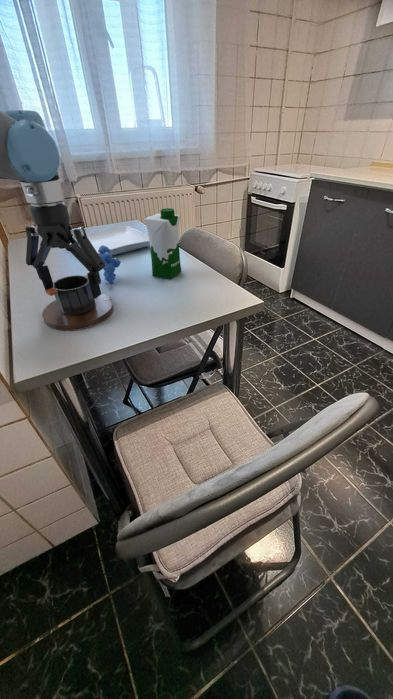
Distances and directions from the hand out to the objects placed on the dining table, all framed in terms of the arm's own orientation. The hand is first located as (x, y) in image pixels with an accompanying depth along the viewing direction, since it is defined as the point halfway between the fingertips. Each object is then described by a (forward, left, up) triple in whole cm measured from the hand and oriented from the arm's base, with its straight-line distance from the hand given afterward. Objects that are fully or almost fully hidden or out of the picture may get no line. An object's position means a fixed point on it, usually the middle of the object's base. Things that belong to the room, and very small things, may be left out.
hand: (73, 293), depth 76 cm
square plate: (+25, +49, -6) cm, 55 cm away
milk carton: (+31, +10, -6) cm, 33 cm away
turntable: (0, 0, -5) cm, 5 cm away
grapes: (+14, +14, -6) cm, 21 cm away
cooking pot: (0, 0, -4) cm, 4 cm away
